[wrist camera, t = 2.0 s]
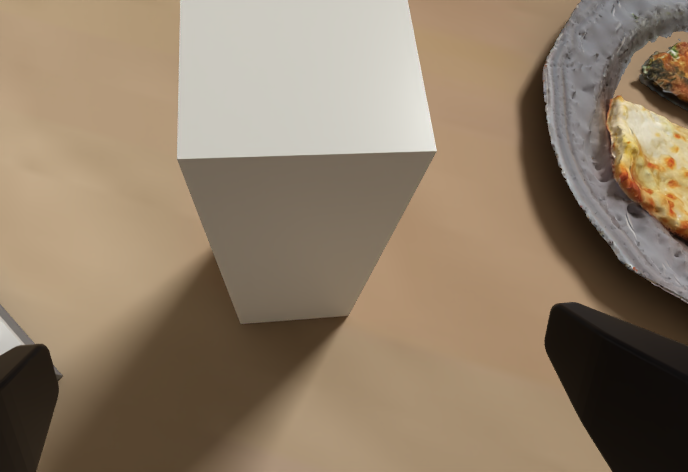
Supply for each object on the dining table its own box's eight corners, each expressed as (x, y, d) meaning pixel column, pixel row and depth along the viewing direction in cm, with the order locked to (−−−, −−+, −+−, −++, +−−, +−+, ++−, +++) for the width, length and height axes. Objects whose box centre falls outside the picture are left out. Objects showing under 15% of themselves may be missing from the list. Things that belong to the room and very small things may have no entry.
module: (348, 315, 21) (436, 151, 9) (240, 324, 20) (177, 159, 8) (337, 214, 22) (399, -41, 10) (237, 219, 22) (181, -46, 10)
